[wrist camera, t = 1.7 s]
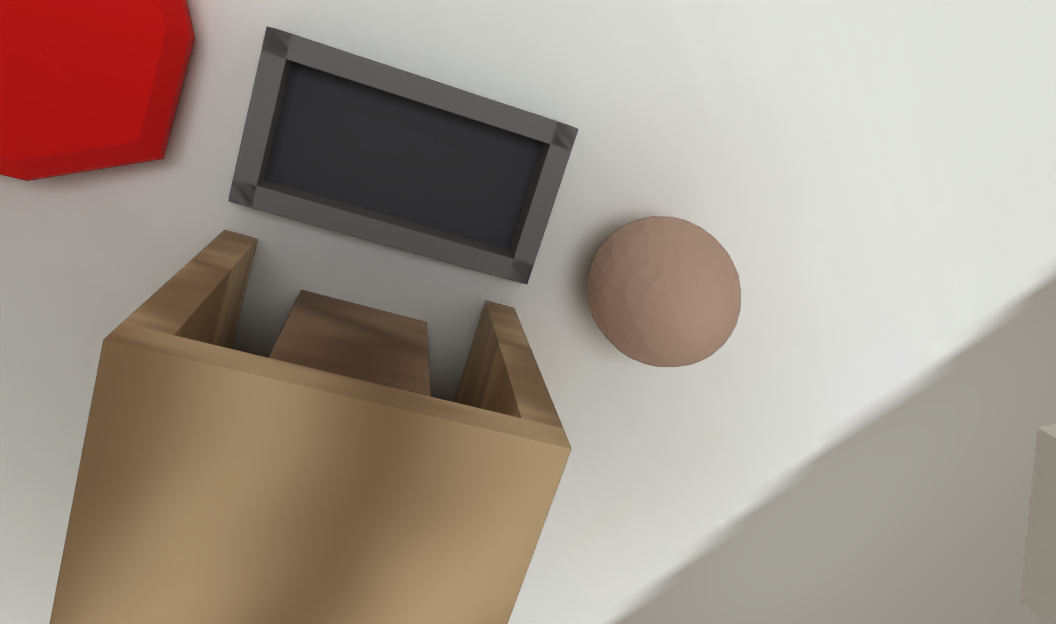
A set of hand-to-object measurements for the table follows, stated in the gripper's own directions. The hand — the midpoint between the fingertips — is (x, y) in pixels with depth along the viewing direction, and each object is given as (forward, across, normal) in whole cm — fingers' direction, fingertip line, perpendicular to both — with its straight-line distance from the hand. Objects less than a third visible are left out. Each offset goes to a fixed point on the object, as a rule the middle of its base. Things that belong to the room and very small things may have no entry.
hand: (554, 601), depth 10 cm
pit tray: (+22, -2, +3) cm, 22 cm away
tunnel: (+22, -5, -4) cm, 23 cm away
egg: (+22, +7, -2) cm, 23 cm away
